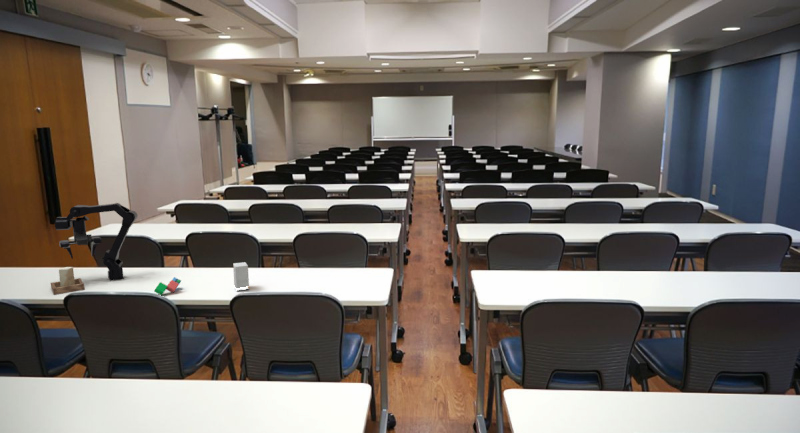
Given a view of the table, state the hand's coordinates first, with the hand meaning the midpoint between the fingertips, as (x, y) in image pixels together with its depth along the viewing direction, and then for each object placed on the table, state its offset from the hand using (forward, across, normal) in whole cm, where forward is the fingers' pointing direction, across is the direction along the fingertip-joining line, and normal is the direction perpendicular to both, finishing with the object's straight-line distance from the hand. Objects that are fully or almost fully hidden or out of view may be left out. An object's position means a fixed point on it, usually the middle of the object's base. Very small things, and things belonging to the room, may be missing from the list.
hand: (82, 257), depth 266 cm
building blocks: (+13, +30, -49) cm, 59 cm away
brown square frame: (+13, -9, -11) cm, 19 cm away
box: (+13, -9, -11) cm, 19 cm away
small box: (+13, +60, -67) cm, 91 cm away
